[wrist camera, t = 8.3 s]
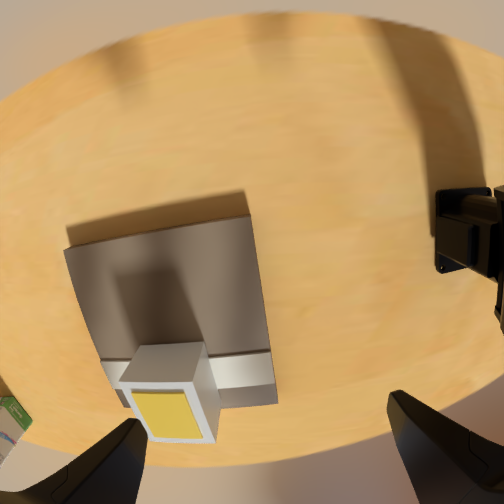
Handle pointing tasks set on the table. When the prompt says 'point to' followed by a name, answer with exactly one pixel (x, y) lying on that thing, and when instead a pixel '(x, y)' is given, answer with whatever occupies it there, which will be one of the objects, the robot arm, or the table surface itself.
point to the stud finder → (173, 392)
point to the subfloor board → (180, 302)
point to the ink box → (11, 425)
